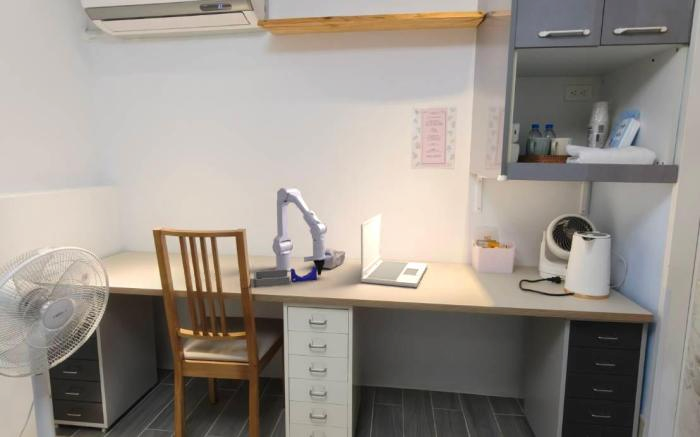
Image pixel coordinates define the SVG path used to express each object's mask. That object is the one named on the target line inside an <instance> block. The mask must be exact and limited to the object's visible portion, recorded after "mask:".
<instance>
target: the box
mask: <svg viewBox="0 0 700 437" xmlns="http://www.w3.org/2000/svg"><path fill="white" fill-rule="evenodd" d="M286 276H287V277H286ZM271 277H274V278H271ZM256 278H261V279H256ZM290 281H291V278H290V276H288V271H287V269H282V270H276V269H271V270H270V269H269V270H258V271H257V270H256V271H255V270H254V271H253V285H254V288H260V287H259V286H264V287H272V286H273V287H274V286H275V285H277V286H287V285H288V286H289V285H290V283H291V282H290Z"/></svg>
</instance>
